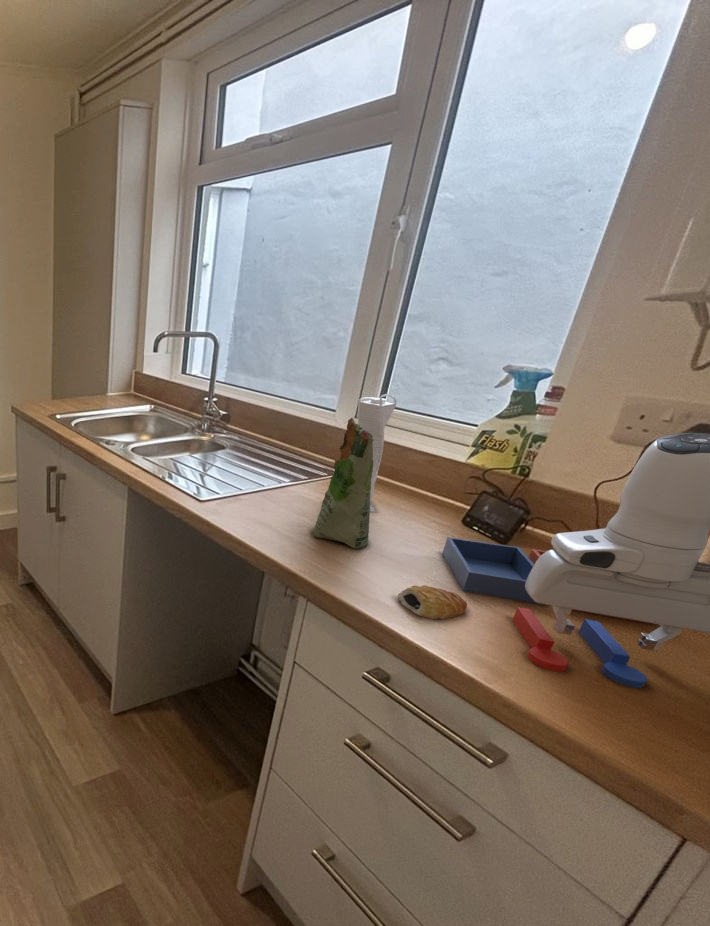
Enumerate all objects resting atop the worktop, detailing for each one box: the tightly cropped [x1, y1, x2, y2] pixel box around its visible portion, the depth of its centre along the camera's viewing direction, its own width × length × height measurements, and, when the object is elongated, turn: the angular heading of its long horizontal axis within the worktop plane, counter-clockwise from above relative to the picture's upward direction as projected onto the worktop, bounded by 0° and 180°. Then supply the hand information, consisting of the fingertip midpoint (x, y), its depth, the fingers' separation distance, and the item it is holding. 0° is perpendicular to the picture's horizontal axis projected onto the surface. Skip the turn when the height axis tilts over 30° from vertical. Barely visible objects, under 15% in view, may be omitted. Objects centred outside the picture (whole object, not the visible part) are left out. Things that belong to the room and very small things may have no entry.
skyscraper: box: [357, 393, 397, 513], centre depth 122 cm, size 8×8×28 cm
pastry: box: [397, 584, 468, 620], centre depth 86 cm, size 9×7×4 cm
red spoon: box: [512, 606, 569, 672], centre depth 77 cm, size 4×13×3 cm, turn 156°
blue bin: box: [441, 536, 546, 606], centre depth 95 cm, size 11×15×4 cm
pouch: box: [312, 417, 374, 550], centre depth 107 cm, size 11×12×25 cm
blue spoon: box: [578, 618, 648, 689], centre depth 74 cm, size 4×13×3 cm, turn 155°
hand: (602, 639), depth 76 cm, fingers open, 8 cm apart
